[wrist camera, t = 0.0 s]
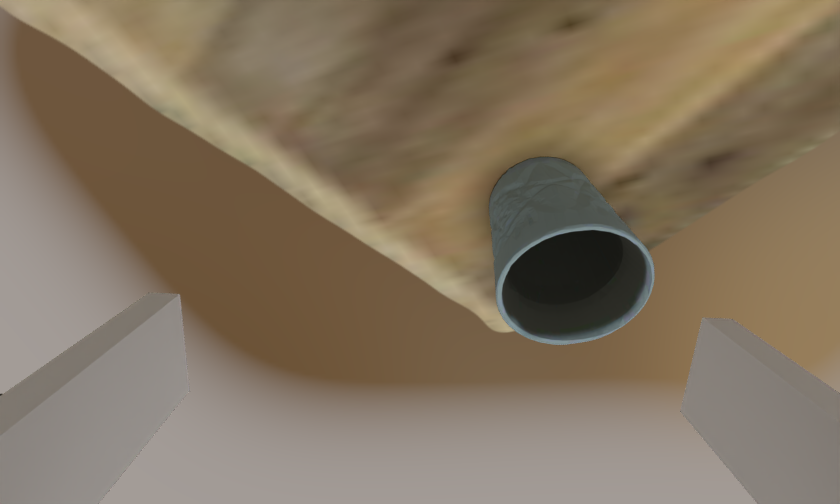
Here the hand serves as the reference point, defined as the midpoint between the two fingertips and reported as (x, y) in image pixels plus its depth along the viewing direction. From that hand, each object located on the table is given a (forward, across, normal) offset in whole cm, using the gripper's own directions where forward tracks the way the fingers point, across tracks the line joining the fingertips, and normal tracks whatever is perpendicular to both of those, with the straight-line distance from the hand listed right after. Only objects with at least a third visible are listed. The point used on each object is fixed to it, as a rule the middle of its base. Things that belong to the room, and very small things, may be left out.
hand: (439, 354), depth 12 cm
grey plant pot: (+30, +10, -1) cm, 32 cm away
